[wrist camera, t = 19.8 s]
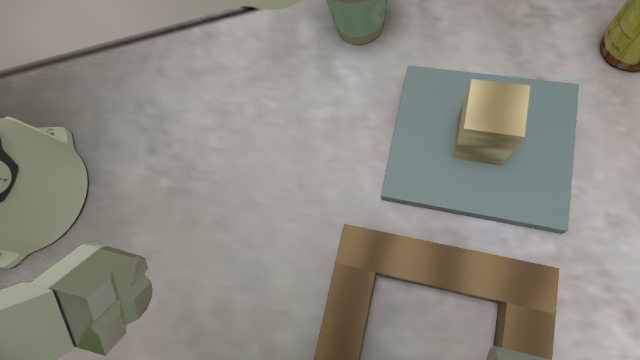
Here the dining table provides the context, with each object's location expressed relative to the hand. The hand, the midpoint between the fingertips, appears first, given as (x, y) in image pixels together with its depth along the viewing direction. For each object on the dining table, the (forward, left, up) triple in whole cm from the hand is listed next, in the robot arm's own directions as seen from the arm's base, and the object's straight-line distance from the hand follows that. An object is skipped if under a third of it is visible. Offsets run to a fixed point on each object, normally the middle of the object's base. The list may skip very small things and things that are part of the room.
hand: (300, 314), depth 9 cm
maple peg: (+8, +19, -32) cm, 38 cm away
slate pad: (+8, +19, -33) cm, 39 cm away
